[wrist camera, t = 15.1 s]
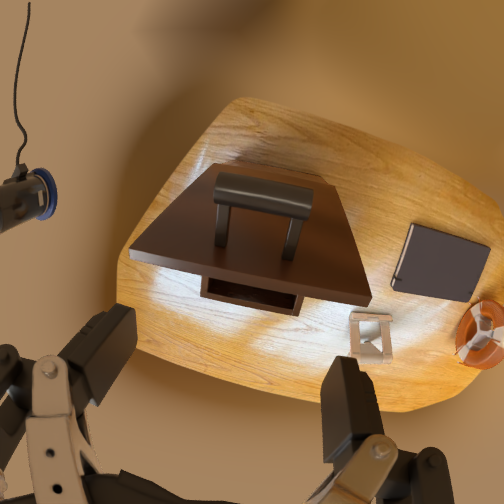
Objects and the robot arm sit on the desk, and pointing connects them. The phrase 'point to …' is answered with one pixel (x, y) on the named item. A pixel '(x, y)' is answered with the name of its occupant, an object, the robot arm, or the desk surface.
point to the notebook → (439, 265)
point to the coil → (481, 335)
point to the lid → (259, 235)
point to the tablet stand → (368, 351)
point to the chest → (250, 294)
